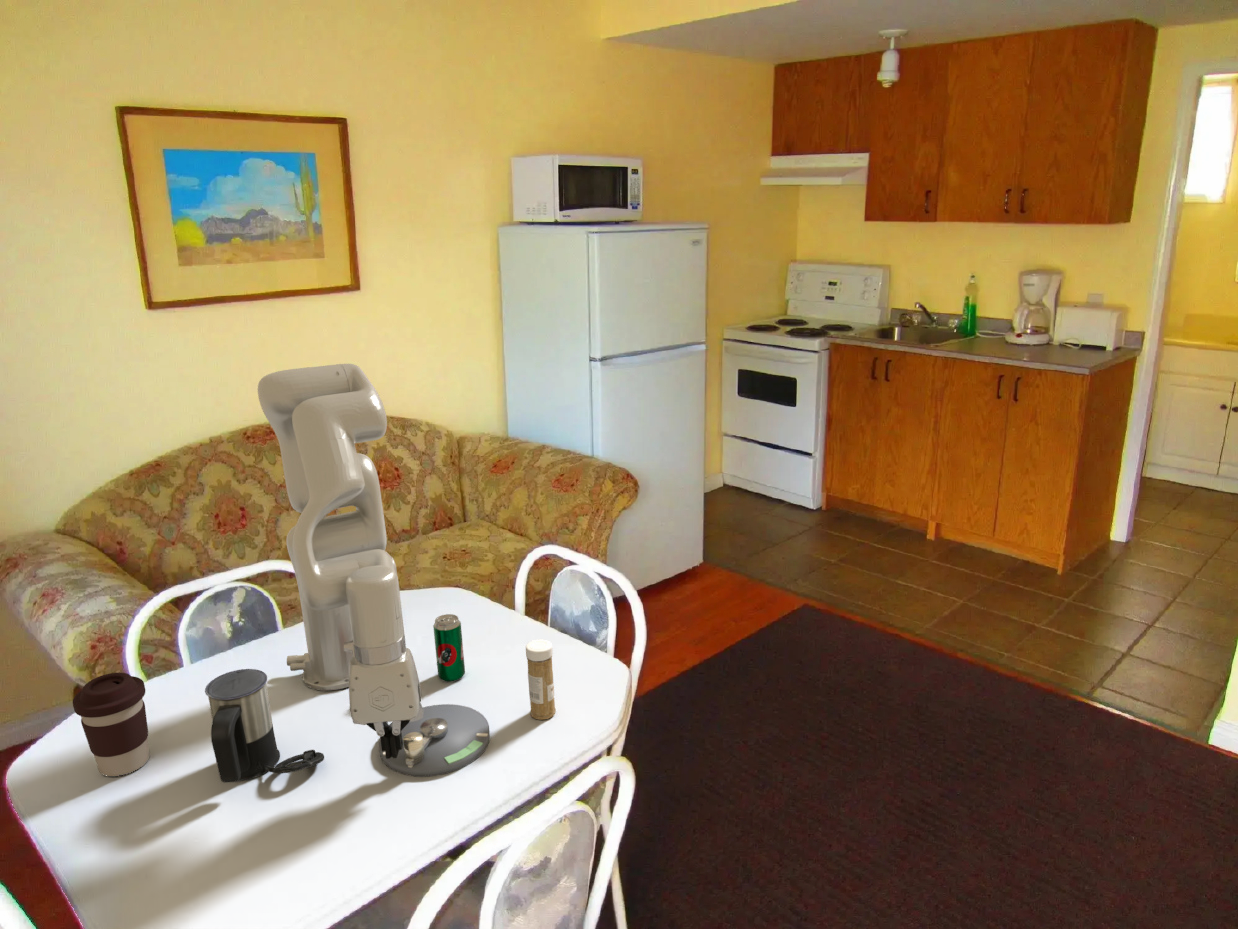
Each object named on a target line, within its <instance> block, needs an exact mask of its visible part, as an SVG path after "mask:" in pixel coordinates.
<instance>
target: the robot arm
mask: <svg viewBox="0 0 1238 929" xmlns="http://www.w3.org/2000/svg"><path fill="white" fill-rule="evenodd" d="M257 395H258V396H257V397H258V401H259V404H260V407H261V410H262V412H263V414H264V416H265V418H266V420H267V421H268V423H269V425H270V426H271V427H272V430H273V431H274V435H276V438H277V440H278V444H279V449H280V456H281V461H282V469H283V475H284V480H285V481H284V482H285V486H286V493H287V496H288V500H289V503H290V505H291V508H292V509H293V510H294V511H295V512H297V513H299V514H300V515H299V517H298V520H297V522H296V524H295V525H294V526H292V527H291V528H290V530H289V531H288V533H287V535H286V548H287V552H288V556H289V559H290V562H291V565H292V567H293V571H294V575H295V579H296V583H297V587H298V588H297V589H298V594H299V601H300V608H301V613H302V620H303V628H304V633H305V641H306V648H307V652H304V654H303V655H302V654H301V655H297V654H296V655H295V654H294V655H292V654H291V655H288V656H287V657H286V665H287V667H289V670H290V671H291V672H292V671H293V672H294V671H303V672H302V681H303V684H305V686H306V687H308V688H310V689H312V690H315V691H327V692H328V691H337V690H342V689H343V690H344V689H346V688H348V699H349V708H350V709H349V711H350V717H351V720H352V723H353V724H354V725H362V726H367V727H369V728H370V729H372V730H373V731H375V732H376V735H377V736H378V737H379V740H381V748H382V751H385V754H386V759H390V758H391V757H393V758H397V755H398V752H399V750H402V747H403V740H402V732H401V730H402V729H403V728H404V727H405V726H406V725H407V724H408V723H409V722H411V721H412V722H413V721H416V720H420V719H422V718H423V715H424V710H423V706H422V703H421V702H422V690H421V684H420V679H419V674H418V670H417V666H416V663H415V659H414V657H413V653H412V651H411V649H410V648H408V647H407V646H406V645H407V644H406V638H405V637H406V635H405V627H404V625H405V624H404V617H403V611H402V608H403V607H402V601H401V593H400V584H399V578H398V572H397V565H396V561H395V559H394V558H393V556H391V555H390V554H389V553H388V552H387V551H386V548H387V542H388V541H387V540H388V539H387V531H386V523H385V516H384V514H385V513H384V508H383V500H382V492H381V486H380V480H379V475H378V470H377V468H376V466H375V464H374V461H372V459H371V458H370V456H367V455H366V454H363V453H360V452H357V449H356V444H361V443H364V442H365V443H366V442H372V441H377V440H380V439H382V438H383V437H384V436H385V435H386V431H387V428H388V418H387V413H386V409H385V407H384V404H383V401H382V398H381V397H380V394H379V393H378V391H377V390H376V388H375V386H374V384H372V382H371V380H370V379H369V378H368V377H367V375H366V373H365V372H364V370H363V369H362V368H361V367H360V366H359V365H357V364H355V363H339V364H338V363H337V364H328V365H320V366H311V367H310V366H309V367H298V368H290V369H285V370H284V369H282V370H279V371H275V372H271V373H269V374H266V375H264V376H263V377H262V378H260V380H259V382H258V385H257ZM348 507H355V510H353V511H348V512H343V513H342V512H341V513H338V514H331V513H332V512H333V511H335V510H337V509H342V508H348ZM329 514H330V515H329ZM392 722H393V726H392V727H391V725H389V723H392Z"/></svg>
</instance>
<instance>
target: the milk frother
mask: <svg viewBox="0 0 1238 929" xmlns="http://www.w3.org/2000/svg"><path fill="white" fill-rule="evenodd" d="M267 682H268V675H267V673H266V672H264V671H262V670H260V669H256V668H254V669H253V668H245V669H243V668H241V669H237V670H236V669H235V670H232V671H227V672H225V673H223V674H221V675H219V676H217V677H215V678H214V679H211V680H210V682H209V683H207V685H206V686H205V689H204V693H205V695H206V696H207V697H208V701H209V706H210V712H211V713H210V714H211V720H212V722H211V726H210V727H211V729H210V738H211V740H210V742H211V745H212V750H213V753H214V757H215V761H216V765H217V769H218V774H219V778H220V781H221V782H222V783H235V782H238V781H247V780H250V779H254V778H257V777H260V776H262V775H264V774H266V773H267V772H268V773H269V772H270V773H274V774H287V773H288V774H289V773H294V772H295V773H296V772H299V771H301V770H304V769H307V768H312V767H315V766H317V765H318V764H320V763H321V762H323V761H324V760H325V755H324V753H322V752H318V751H316V750H315V749H309V750H304V751H303V753H300V754H296V755H293V756H292V757H291V756H290V757H288V758H286V759H285V760H284V759H283V761H282V760H281V761H280V759H281V758H280V757H281V753H280V750H279V749H278V745H277V741H276V737H275V736H276V735H275V730H274V726H273V719H272V711H271V705H270V699H269V692H268V686H267ZM279 761H280V762H279ZM298 761H301V763H297V764H294V765H291V764H293V763H295V762H298ZM278 762H279V763H278Z"/></svg>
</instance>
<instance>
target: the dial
mask: <svg viewBox="0 0 1238 929" xmlns="http://www.w3.org/2000/svg"><path fill="white" fill-rule="evenodd" d="M422 708H423V710H424V715H423V718H422V719H420V720H416V721H413V722H412V721H411V722H409V723H408V724H407V725H406V726H405V727H404V728H403V729H402V730H401V732H402V740H403V738H404V736H405V735H407V734H409V733H412V732H419V733H421V729H420V727H421V724H422V723H423V722H425V721H426V720H429V719H432V718H441V719H444V720H446V721H447V725H448V732H447V734H446V735H445V736H443V737H441V738H439V739H435V740H431V742H430V743H429V744H428V746H427V747H426V748H425V749H424V754H425V757H424V759H423V760H422V761H420V762H417V763H414V764H413V765H406V760H405V751H404V742H403V747H402V750H399V752H398V755H397V758H393V757H391V758H390V759H386V754H385V751H382V748H381V740H380V739H379V742H378V747H379V756H380V759H381V761H382V762H383V764H384V765H385V766H386V767H387V768H389V769H390V770H392V771H393V772H395V773H398V774H401V775H405V776H410V777H421V778H422V777H434V776H435V777H436V776H440V775H445V774H449V773H453V772H456V771H458V770H461V769H463V768H465V767H467V766H468V765H470V764H472V763H473V762H474V761H476V760H477V759H478V758H479V757H481V756H482V755H483V753H484V752H485V751H486V749H487V748H488V746H489V743H490V738H491V733H490V732H491V731H490V725H489V724H490V723H489V722H488V719H487V718H486V717H485V716H484V715H483V714H482V713H481V712H480V711H478V710H476V709H473V708H472V707H469V706H465V705H459V704H453V703H452V704H451V703H450V704H449V703H448V704H434V705H433V704H432V705H428V706H424V707H423V706H422ZM388 725H391V727H392V726H393V721H392V722H389V723H388Z"/></svg>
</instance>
